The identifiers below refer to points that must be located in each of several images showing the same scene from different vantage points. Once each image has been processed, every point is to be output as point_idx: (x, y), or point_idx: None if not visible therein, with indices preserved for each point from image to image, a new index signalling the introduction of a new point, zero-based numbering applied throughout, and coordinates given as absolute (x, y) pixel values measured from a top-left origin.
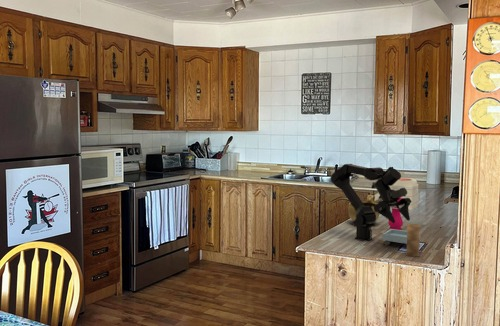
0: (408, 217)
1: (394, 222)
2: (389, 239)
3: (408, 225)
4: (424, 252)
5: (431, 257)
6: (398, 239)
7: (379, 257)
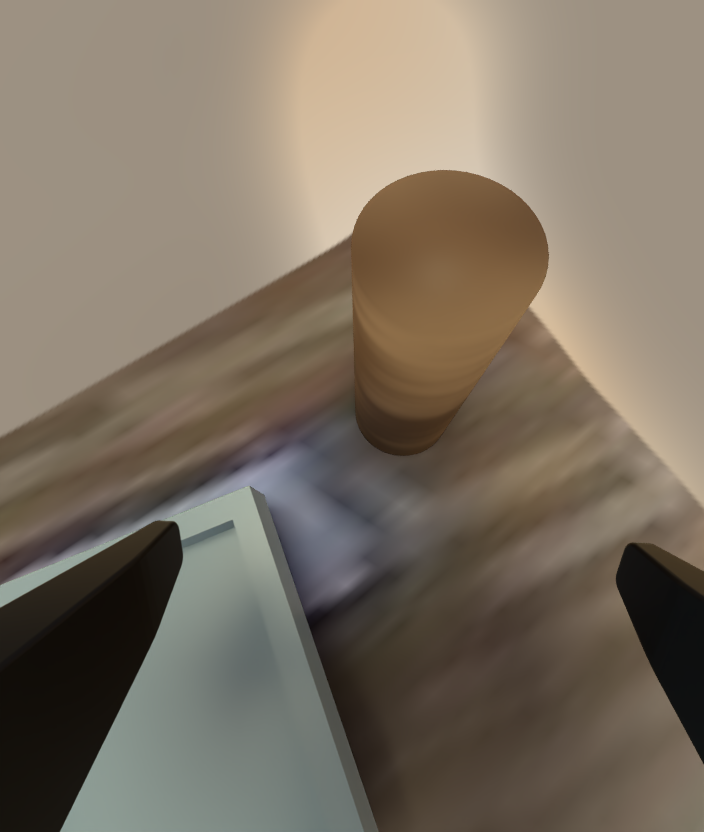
0: (154, 544)
1: (636, 556)
2: (351, 760)
3: (544, 275)
4: (261, 405)
5: (334, 305)
6: (311, 649)
7: (697, 512)
